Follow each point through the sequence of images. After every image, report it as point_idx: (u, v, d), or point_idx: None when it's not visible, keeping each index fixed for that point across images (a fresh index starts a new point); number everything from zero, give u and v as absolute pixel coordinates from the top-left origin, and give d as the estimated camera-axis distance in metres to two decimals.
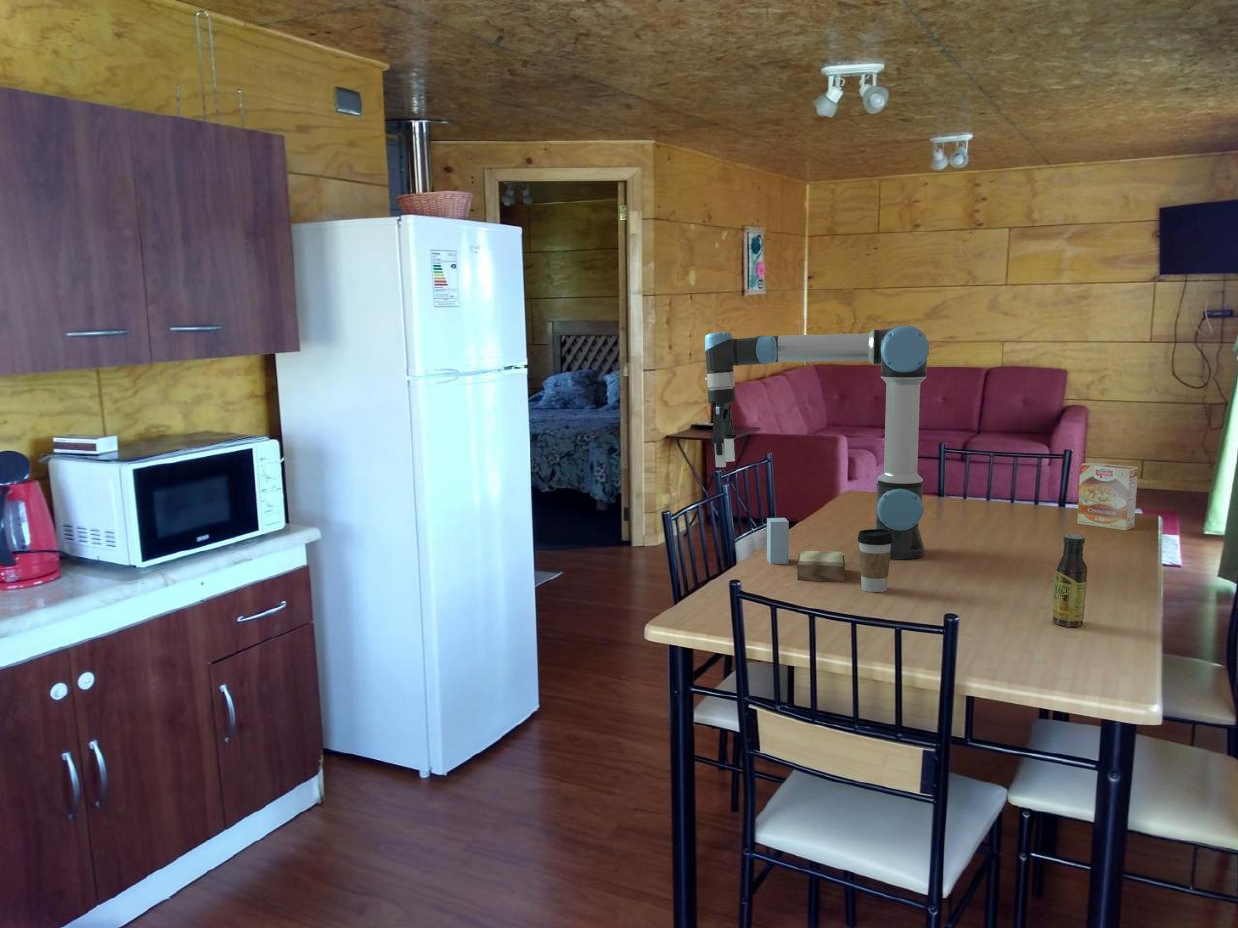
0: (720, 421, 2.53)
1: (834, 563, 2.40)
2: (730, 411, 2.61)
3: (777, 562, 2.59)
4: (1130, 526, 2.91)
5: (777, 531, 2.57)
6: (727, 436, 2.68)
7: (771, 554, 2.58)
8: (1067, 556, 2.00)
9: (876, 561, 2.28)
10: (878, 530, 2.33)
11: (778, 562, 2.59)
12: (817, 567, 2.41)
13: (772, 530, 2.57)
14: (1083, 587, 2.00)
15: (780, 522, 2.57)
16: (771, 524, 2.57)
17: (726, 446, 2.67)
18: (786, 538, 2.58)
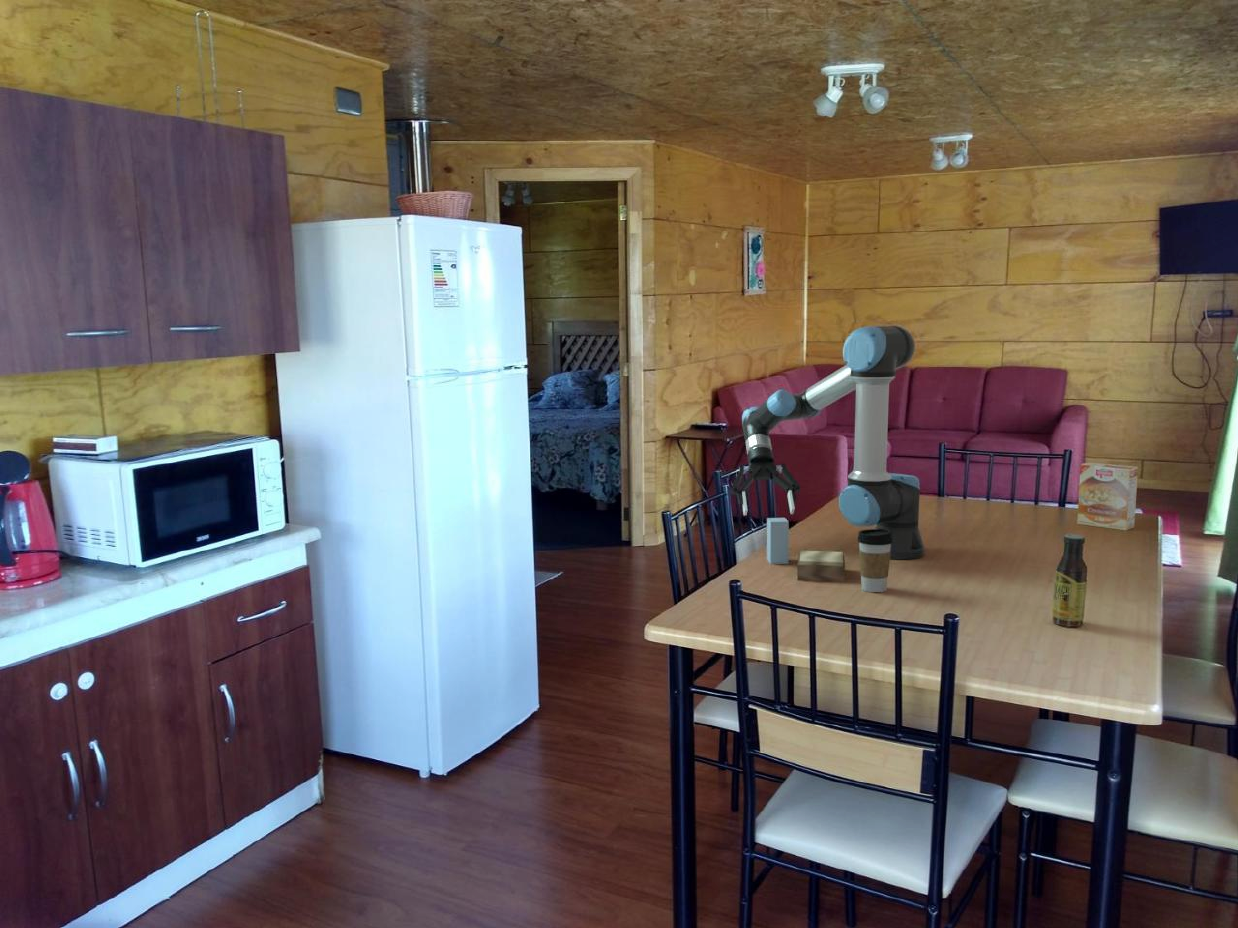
0: (737, 475, 2.74)
1: (834, 563, 2.40)
2: (769, 466, 2.75)
3: (777, 562, 2.59)
4: (1130, 526, 2.91)
5: (777, 531, 2.57)
6: None
7: (771, 554, 2.58)
8: (1067, 556, 2.00)
9: (876, 561, 2.28)
10: (878, 530, 2.33)
11: (778, 562, 2.59)
12: (817, 567, 2.41)
13: (772, 530, 2.57)
14: (1083, 587, 2.00)
15: (780, 522, 2.57)
16: (771, 524, 2.57)
17: (788, 500, 2.71)
18: (786, 538, 2.58)
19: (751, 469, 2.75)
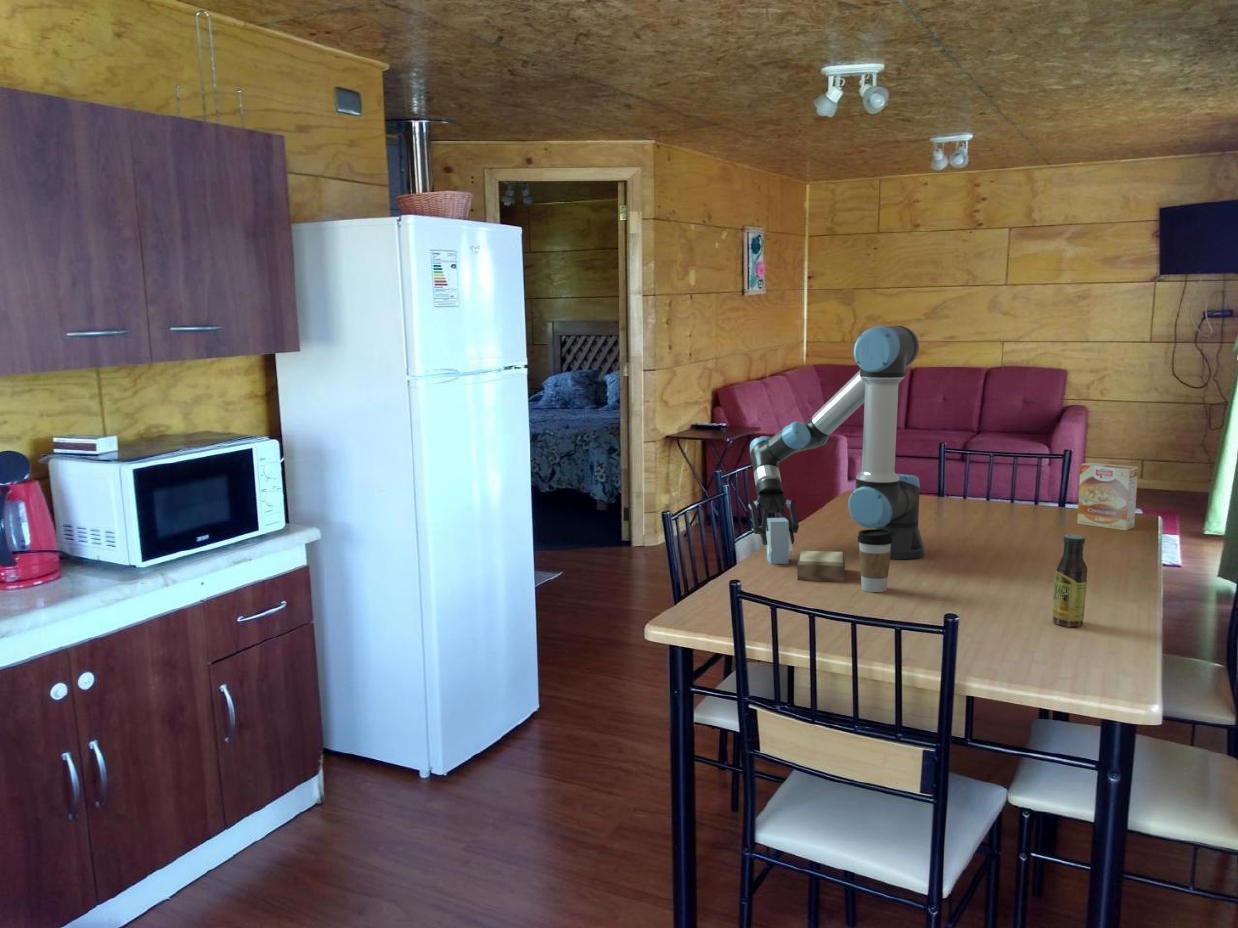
0: (752, 513, 2.64)
1: (834, 563, 2.40)
2: (778, 499, 2.65)
3: (777, 562, 2.59)
4: (1130, 526, 2.91)
5: (777, 531, 2.57)
6: None
7: (771, 554, 2.58)
8: (1067, 556, 2.00)
9: (876, 561, 2.28)
10: (878, 530, 2.33)
11: (778, 562, 2.59)
12: (817, 567, 2.41)
13: (773, 530, 2.57)
14: (1084, 587, 2.00)
15: (780, 522, 2.57)
16: (771, 524, 2.57)
17: None
18: (786, 538, 2.58)
19: (761, 502, 2.66)
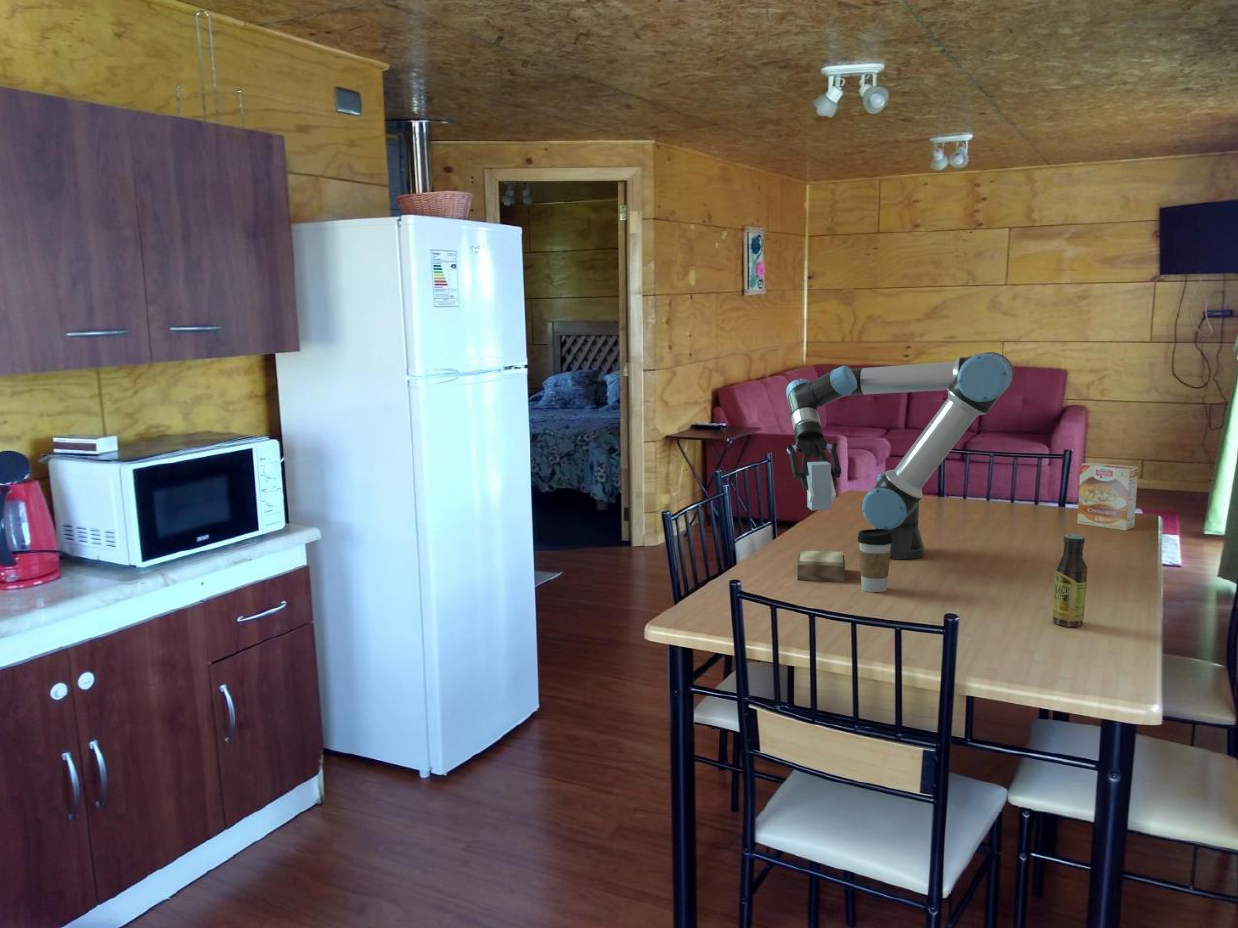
0: (791, 458, 2.48)
1: (834, 563, 2.40)
2: (818, 443, 2.49)
3: (819, 508, 2.42)
4: (1130, 526, 2.91)
5: (819, 474, 2.41)
6: None
7: None
8: (1067, 556, 2.00)
9: (876, 561, 2.28)
10: (878, 530, 2.33)
11: (820, 508, 2.42)
12: (817, 567, 2.41)
13: (814, 474, 2.41)
14: (1083, 587, 2.00)
15: (822, 465, 2.41)
16: (812, 467, 2.41)
17: None
18: (828, 482, 2.42)
19: (801, 446, 2.50)
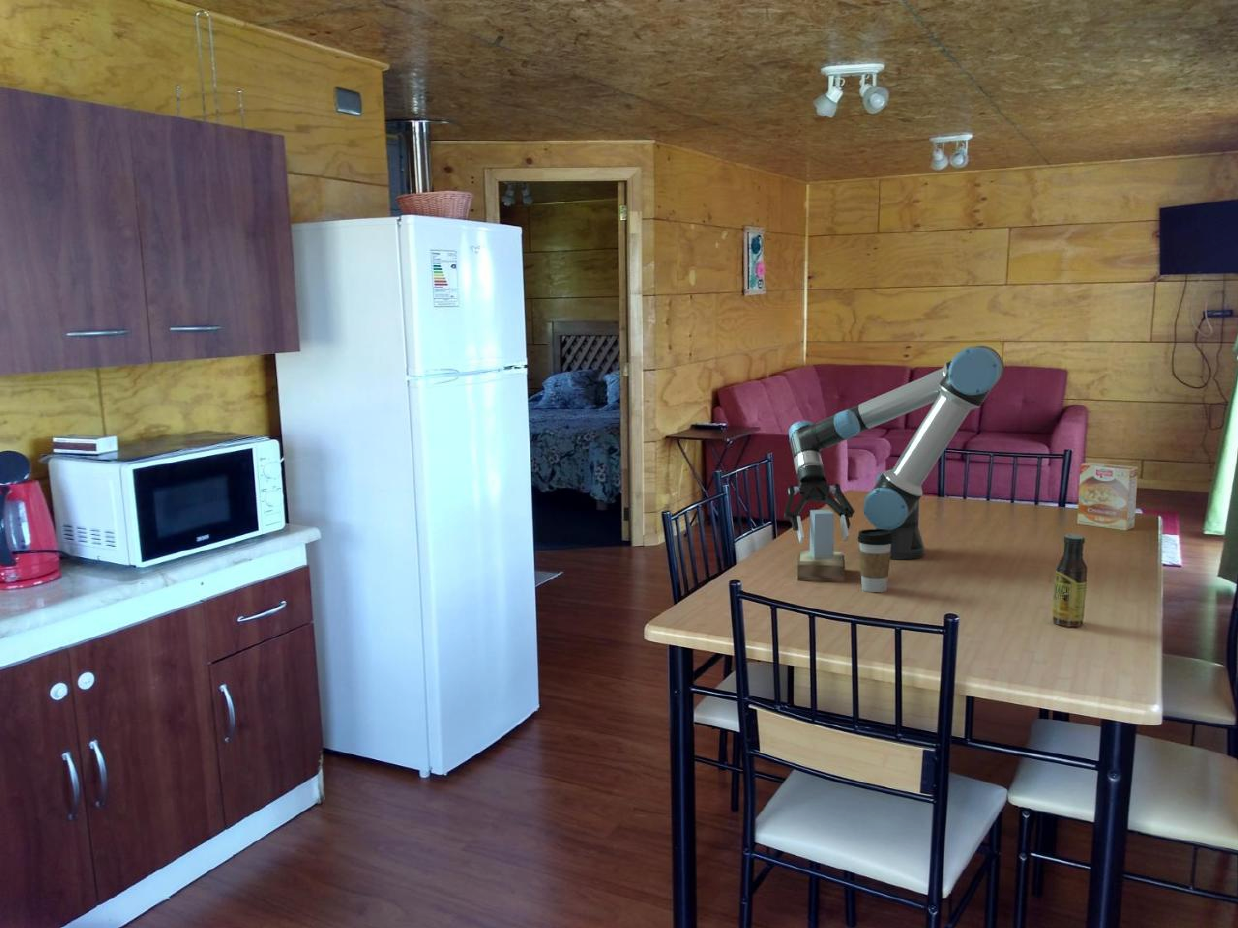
0: (788, 498, 2.49)
1: (834, 563, 2.40)
2: (821, 487, 2.50)
3: (821, 557, 2.44)
4: (1130, 526, 2.91)
5: (821, 523, 2.42)
6: None
7: (815, 548, 2.43)
8: (1067, 556, 2.00)
9: (876, 561, 2.28)
10: (878, 530, 2.33)
11: (822, 557, 2.44)
12: (817, 567, 2.41)
13: (817, 523, 2.42)
14: (1083, 587, 2.00)
15: (825, 514, 2.42)
16: (815, 516, 2.42)
17: (841, 525, 2.46)
18: (831, 531, 2.43)
19: (802, 489, 2.51)
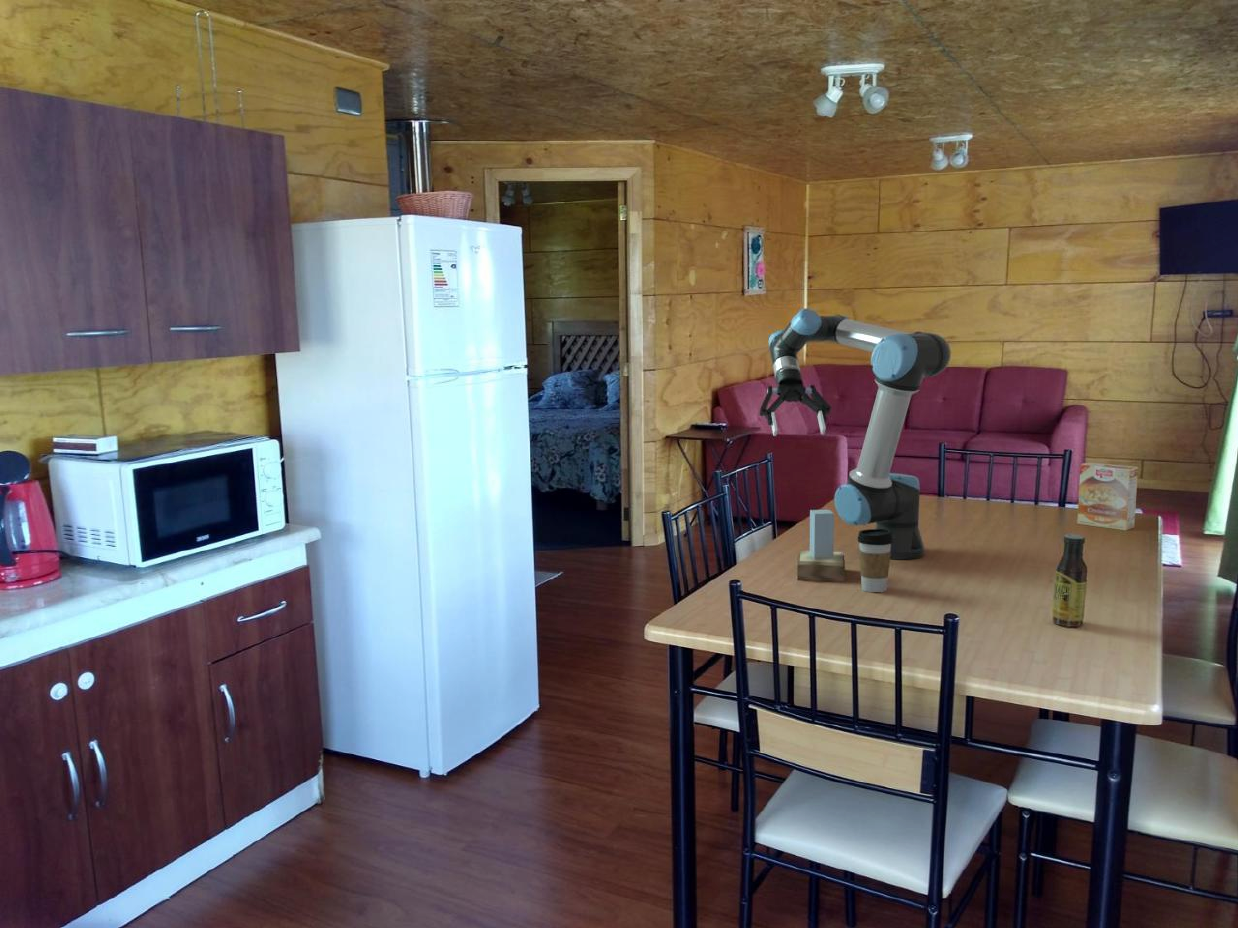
0: None
1: (834, 563, 2.40)
2: (798, 388, 2.68)
3: (821, 557, 2.44)
4: (1130, 526, 2.91)
5: (821, 523, 2.42)
6: None
7: (815, 548, 2.43)
8: (1067, 556, 2.00)
9: (876, 561, 2.28)
10: (878, 530, 2.33)
11: (822, 557, 2.44)
12: (817, 567, 2.41)
13: (817, 523, 2.42)
14: (1083, 587, 2.00)
15: (825, 514, 2.42)
16: (815, 516, 2.42)
17: (819, 421, 2.65)
18: (831, 531, 2.43)
19: (780, 391, 2.69)
